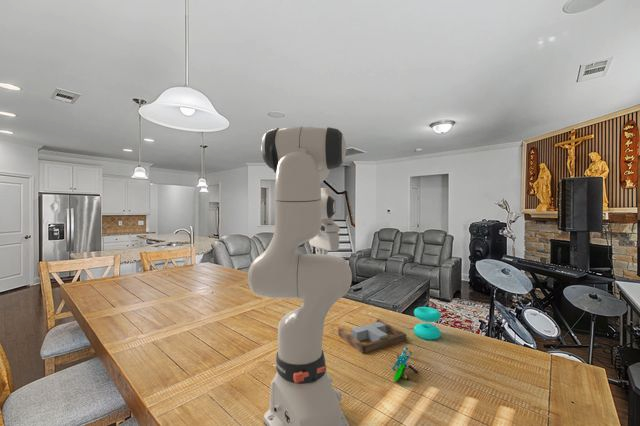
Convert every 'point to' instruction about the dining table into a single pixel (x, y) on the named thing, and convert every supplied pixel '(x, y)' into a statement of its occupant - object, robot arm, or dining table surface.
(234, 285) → the dining table surface
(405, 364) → the stick construction toy
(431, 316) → the donuts
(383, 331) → the T-block
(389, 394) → the dining table surface
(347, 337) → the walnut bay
